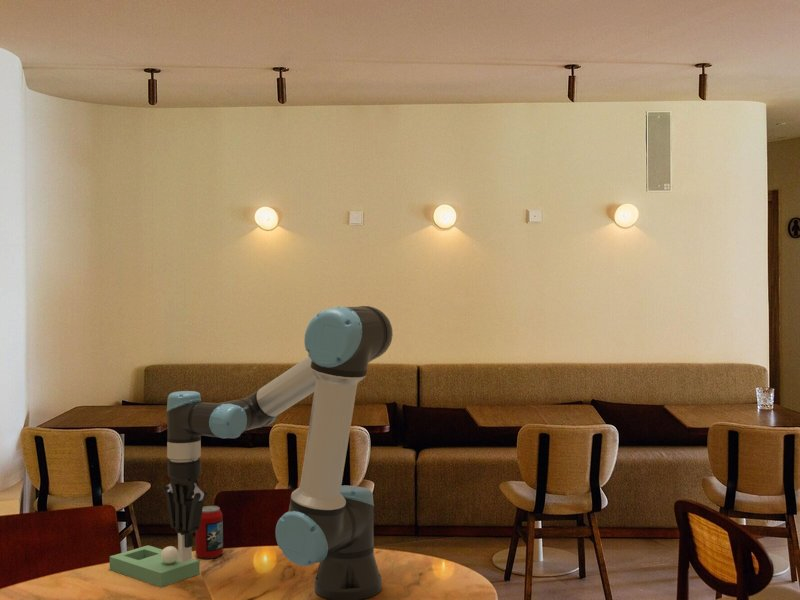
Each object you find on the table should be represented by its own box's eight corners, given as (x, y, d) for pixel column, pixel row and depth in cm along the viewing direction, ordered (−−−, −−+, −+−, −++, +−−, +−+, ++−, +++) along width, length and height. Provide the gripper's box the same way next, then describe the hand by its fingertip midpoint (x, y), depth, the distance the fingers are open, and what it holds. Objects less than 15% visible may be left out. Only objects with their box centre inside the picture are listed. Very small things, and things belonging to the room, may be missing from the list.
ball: (182, 562, 201) (182, 545, 201) (168, 567, 198) (167, 550, 197) (171, 559, 203) (171, 542, 203) (157, 564, 200) (157, 547, 200)
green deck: (199, 573, 202) (199, 560, 202) (161, 587, 194) (161, 573, 194) (148, 557, 214) (147, 545, 214) (109, 569, 206) (109, 556, 206)
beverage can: (216, 560, 212) (215, 512, 212) (191, 558, 213) (190, 511, 213) (227, 552, 219) (226, 505, 218) (202, 550, 220) (202, 504, 220)
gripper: (215, 459, 195) (216, 561, 196) (179, 452, 203) (180, 550, 204) (189, 465, 189) (190, 570, 190) (153, 457, 197) (154, 558, 198)
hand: (185, 560), depth 197 cm, fingers closed
